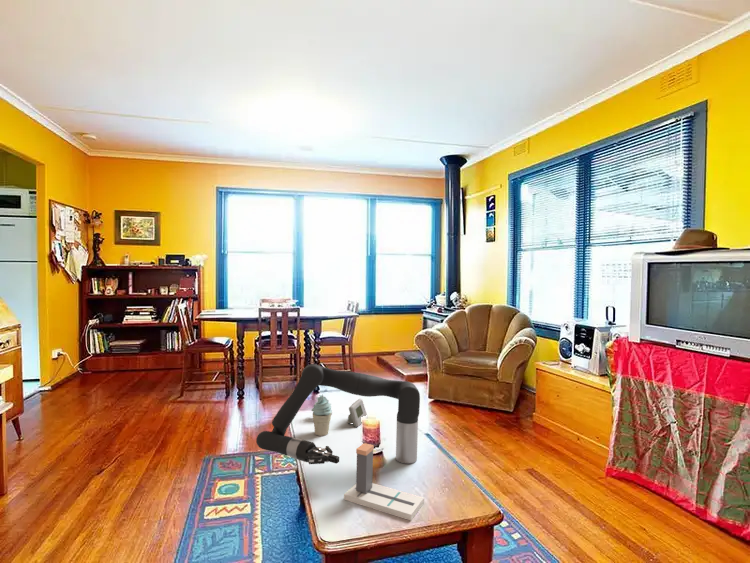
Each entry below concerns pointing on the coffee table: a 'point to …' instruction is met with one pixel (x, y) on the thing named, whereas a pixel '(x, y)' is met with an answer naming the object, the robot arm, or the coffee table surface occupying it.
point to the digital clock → (356, 412)
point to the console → (387, 500)
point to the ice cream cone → (322, 416)
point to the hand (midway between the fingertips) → (338, 460)
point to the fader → (364, 467)
